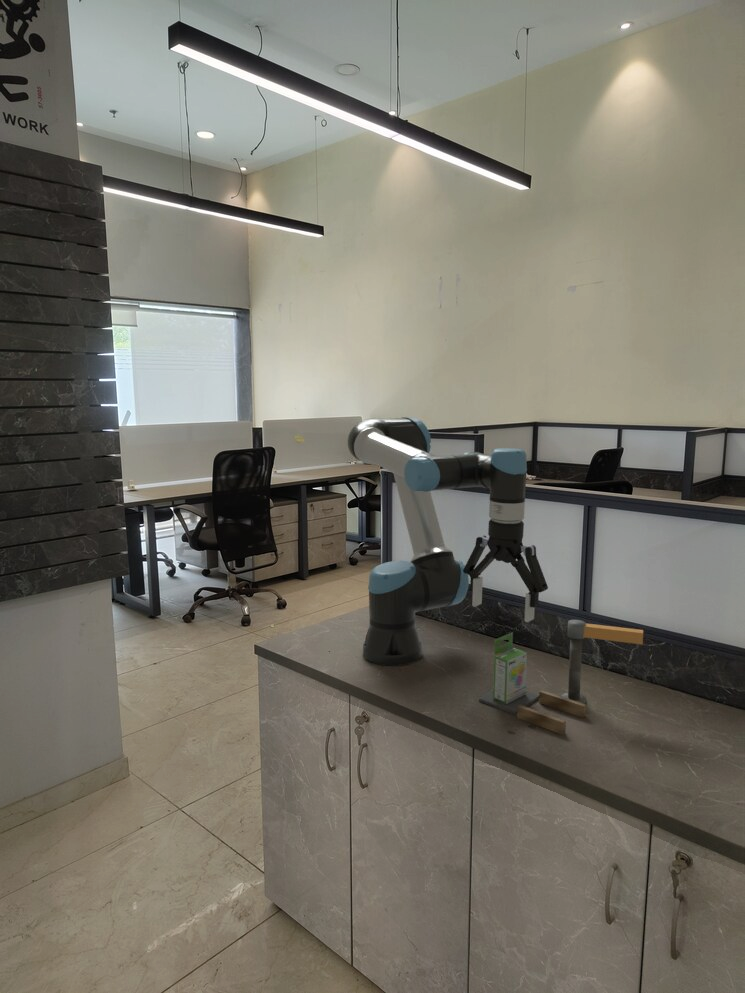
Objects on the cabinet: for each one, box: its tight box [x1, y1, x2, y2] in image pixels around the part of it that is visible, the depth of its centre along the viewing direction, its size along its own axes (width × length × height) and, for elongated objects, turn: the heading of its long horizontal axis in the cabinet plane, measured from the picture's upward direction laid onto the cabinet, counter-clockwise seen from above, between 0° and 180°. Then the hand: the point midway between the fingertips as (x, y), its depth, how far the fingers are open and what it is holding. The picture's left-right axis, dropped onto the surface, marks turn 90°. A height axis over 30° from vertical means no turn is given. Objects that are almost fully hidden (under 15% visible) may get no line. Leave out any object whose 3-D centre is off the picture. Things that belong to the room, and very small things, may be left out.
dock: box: [516, 637, 587, 736], centre depth 133 cm, size 10×18×14 cm, turn 137°
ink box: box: [492, 632, 528, 704], centre depth 138 cm, size 7×4×13 cm, turn 132°
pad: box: [478, 689, 539, 715], centre depth 139 cm, size 9×10×1 cm
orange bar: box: [567, 619, 644, 645], centre depth 134 cm, size 15×4×3 cm, turn 68°
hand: (502, 612), depth 143 cm, fingers open, 13 cm apart
